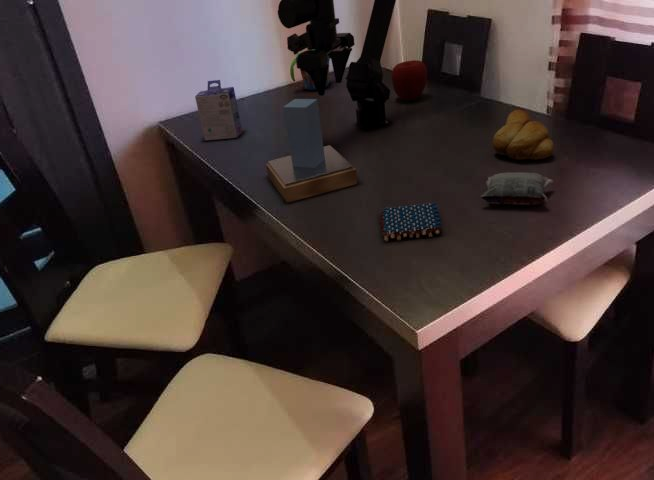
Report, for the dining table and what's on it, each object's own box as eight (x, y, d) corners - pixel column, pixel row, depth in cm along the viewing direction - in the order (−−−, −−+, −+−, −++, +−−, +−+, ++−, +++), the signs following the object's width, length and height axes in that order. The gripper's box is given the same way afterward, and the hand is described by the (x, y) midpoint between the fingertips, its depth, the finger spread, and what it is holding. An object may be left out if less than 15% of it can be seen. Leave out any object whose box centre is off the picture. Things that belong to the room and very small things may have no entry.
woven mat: (380, 216, 120) (379, 206, 119) (436, 210, 119) (436, 200, 117) (382, 242, 112) (381, 232, 111) (442, 236, 110) (442, 226, 109)
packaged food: (487, 188, 123) (488, 164, 120) (552, 190, 118) (555, 165, 115) (479, 209, 117) (480, 184, 114) (547, 212, 112) (549, 186, 109)
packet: (325, 159, 137) (317, 99, 130) (314, 168, 134) (306, 107, 126) (303, 157, 140) (294, 98, 132) (292, 166, 137) (282, 106, 129)
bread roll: (563, 155, 129) (567, 116, 124) (527, 170, 126) (530, 131, 121) (517, 141, 139) (519, 104, 134) (483, 154, 136) (484, 117, 131)
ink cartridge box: (243, 131, 174) (232, 77, 165) (238, 138, 170) (227, 83, 161) (210, 134, 176) (198, 81, 168) (204, 141, 172) (191, 87, 163)
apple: (392, 95, 178) (390, 58, 172) (426, 91, 176) (425, 53, 170) (392, 106, 170) (390, 68, 165) (428, 102, 169) (427, 63, 163)
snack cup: (336, 78, 201) (332, 44, 195) (345, 85, 193) (342, 50, 187) (289, 88, 200) (284, 55, 194) (297, 97, 192) (291, 62, 186)
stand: (333, 160, 147) (331, 143, 144) (357, 184, 134) (355, 166, 132) (268, 177, 145) (265, 161, 142) (286, 203, 132) (283, 185, 129)
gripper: (309, 8, 148) (318, 77, 158) (270, 29, 136) (281, 102, 145) (352, 5, 143) (358, 76, 152) (315, 26, 131) (324, 102, 140)
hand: (330, 89), depth 148 cm, fingers open, 9 cm apart
